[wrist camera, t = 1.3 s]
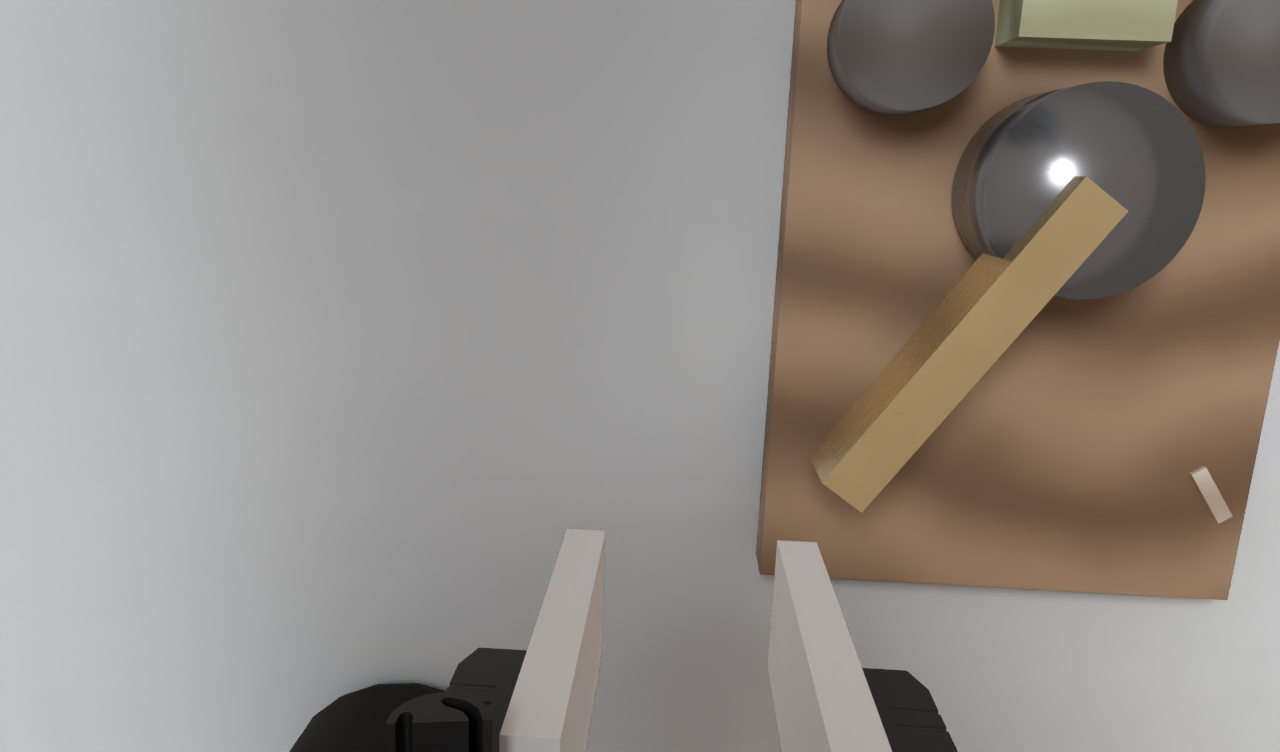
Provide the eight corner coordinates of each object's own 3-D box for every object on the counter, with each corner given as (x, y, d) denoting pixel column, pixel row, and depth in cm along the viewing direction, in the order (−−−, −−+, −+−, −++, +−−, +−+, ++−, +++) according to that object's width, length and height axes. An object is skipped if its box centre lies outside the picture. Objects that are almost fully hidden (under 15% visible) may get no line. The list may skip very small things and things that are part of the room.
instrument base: (798, -37, 34) (818, -72, 29) (1314, -21, 33) (1424, -55, 28) (756, 554, 39) (766, 608, 34) (1199, 578, 38) (1274, 637, 34)
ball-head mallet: (1043, 50, 32) (1103, 30, 27) (1187, 171, 33) (1270, 171, 28) (752, 403, 35) (762, 438, 31) (888, 507, 36) (918, 556, 31)
